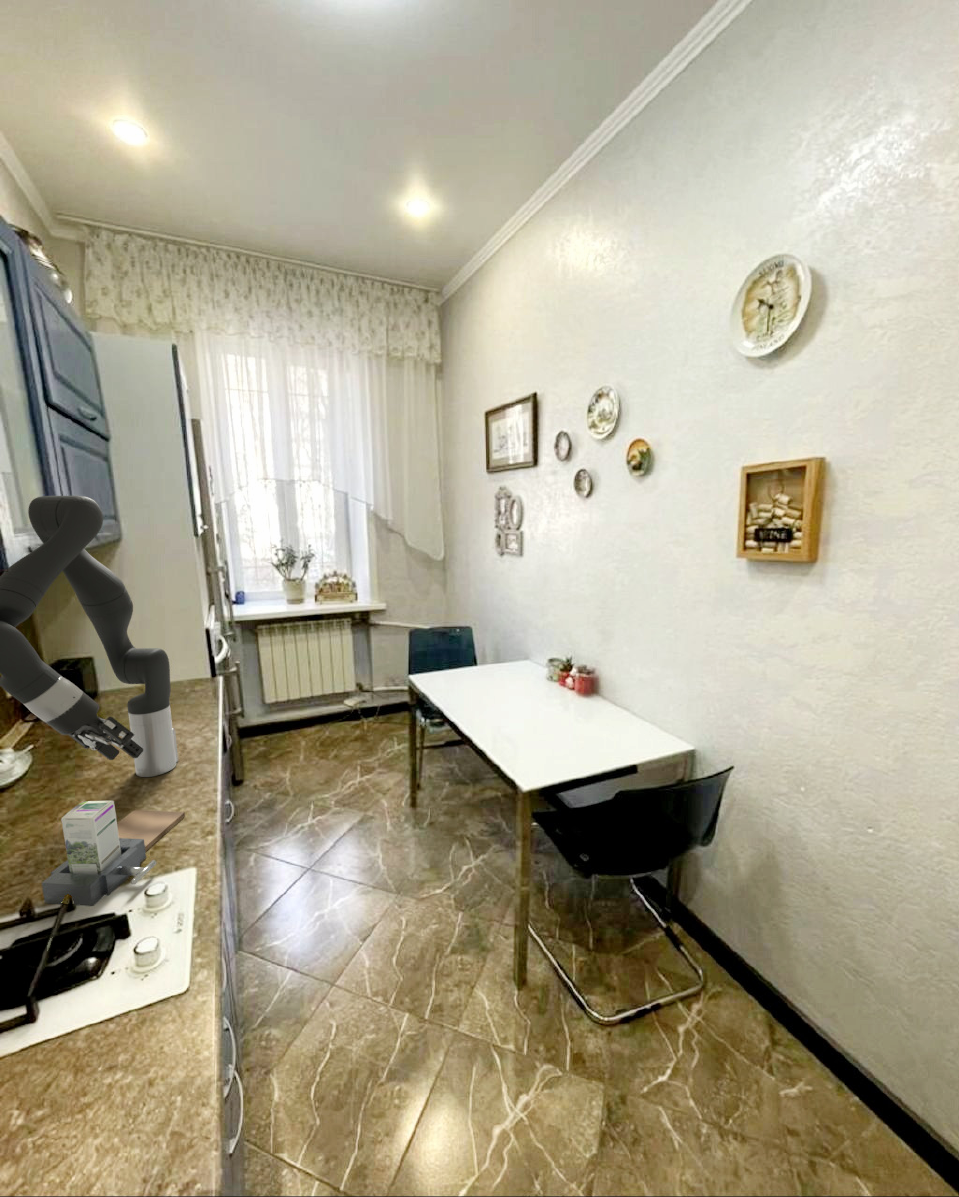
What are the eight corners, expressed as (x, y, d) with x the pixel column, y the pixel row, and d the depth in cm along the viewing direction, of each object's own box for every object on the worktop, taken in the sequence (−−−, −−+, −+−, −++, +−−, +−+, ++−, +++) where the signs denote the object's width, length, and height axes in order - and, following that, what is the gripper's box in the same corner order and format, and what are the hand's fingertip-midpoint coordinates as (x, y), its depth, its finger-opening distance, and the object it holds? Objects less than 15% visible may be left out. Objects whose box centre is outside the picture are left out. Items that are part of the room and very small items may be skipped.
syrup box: (124, 867, 96) (115, 798, 93) (103, 890, 90) (92, 817, 87) (94, 868, 95) (84, 799, 93) (70, 891, 90) (59, 817, 87)
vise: (100, 855, 99) (97, 837, 99) (171, 858, 98) (169, 840, 97) (40, 903, 87) (37, 882, 86) (121, 907, 86) (118, 887, 85)
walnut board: (134, 814, 113) (134, 810, 113) (184, 816, 112) (184, 812, 112) (90, 848, 101) (89, 844, 101) (145, 851, 100) (145, 847, 100)
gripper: (98, 686, 94) (161, 738, 103) (59, 693, 100) (121, 742, 109) (65, 717, 89) (133, 770, 97) (25, 723, 95) (93, 772, 103)
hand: (127, 755), depth 103 cm, fingers open, 8 cm apart
